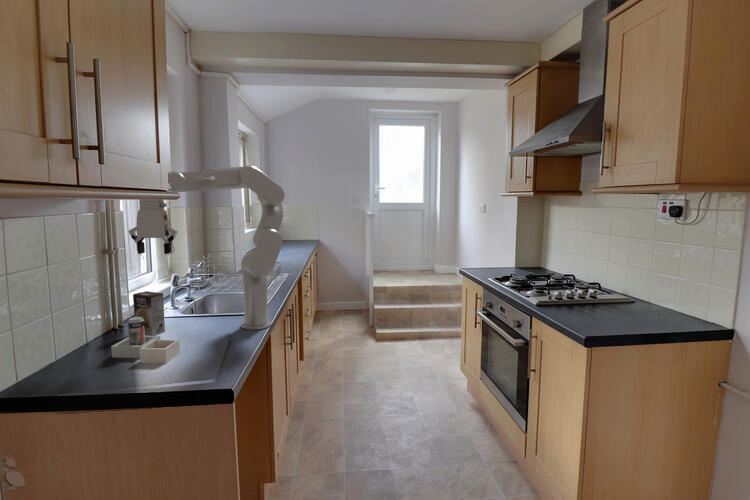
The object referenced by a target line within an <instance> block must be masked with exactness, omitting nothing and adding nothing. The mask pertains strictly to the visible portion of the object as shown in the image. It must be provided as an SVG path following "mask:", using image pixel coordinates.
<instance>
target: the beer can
mask: <svg viewBox="0 0 750 500" xmlns="http://www.w3.org/2000/svg"><path fill="white" fill-rule="evenodd" d="M127 325H128V327H127V328H128V337H129V343H130V345H142V344H144V343H145V336H146V335H145V330H144V319H143V318H142V317H135V316H133V317H130V318H128V321H127Z"/></svg>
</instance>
